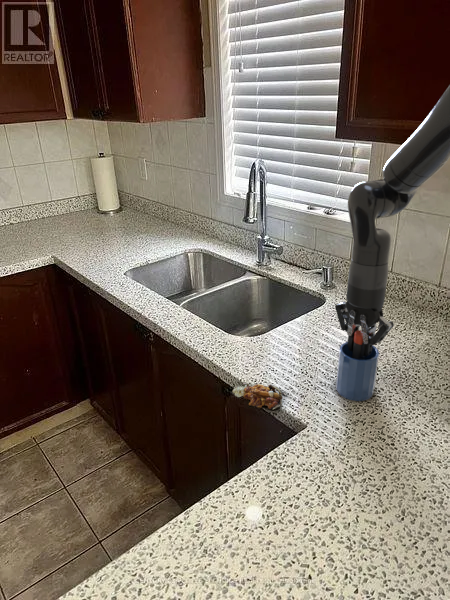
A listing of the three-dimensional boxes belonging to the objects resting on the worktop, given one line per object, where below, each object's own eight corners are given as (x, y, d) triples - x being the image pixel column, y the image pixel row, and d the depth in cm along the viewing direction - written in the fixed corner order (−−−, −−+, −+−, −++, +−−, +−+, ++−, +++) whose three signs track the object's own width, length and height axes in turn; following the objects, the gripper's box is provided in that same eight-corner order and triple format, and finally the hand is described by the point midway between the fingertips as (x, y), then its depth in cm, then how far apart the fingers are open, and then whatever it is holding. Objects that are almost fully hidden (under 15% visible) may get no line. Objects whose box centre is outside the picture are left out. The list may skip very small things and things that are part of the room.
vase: (380, 392, 101) (386, 351, 97) (357, 407, 97) (362, 365, 92) (351, 376, 107) (355, 336, 103) (328, 389, 103) (332, 349, 98)
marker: (364, 376, 100) (370, 333, 95) (357, 380, 99) (362, 337, 94) (355, 370, 102) (359, 328, 97) (347, 375, 101) (351, 332, 96)
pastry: (238, 384, 106) (237, 371, 105) (287, 395, 102) (287, 382, 100) (226, 402, 100) (226, 389, 99) (278, 414, 96) (278, 401, 94)
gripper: (409, 286, 87) (397, 360, 95) (351, 266, 97) (344, 334, 105) (385, 297, 83) (375, 373, 91) (328, 275, 93) (322, 345, 101)
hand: (358, 352), depth 98 cm, fingers closed on marker, 2 cm apart
